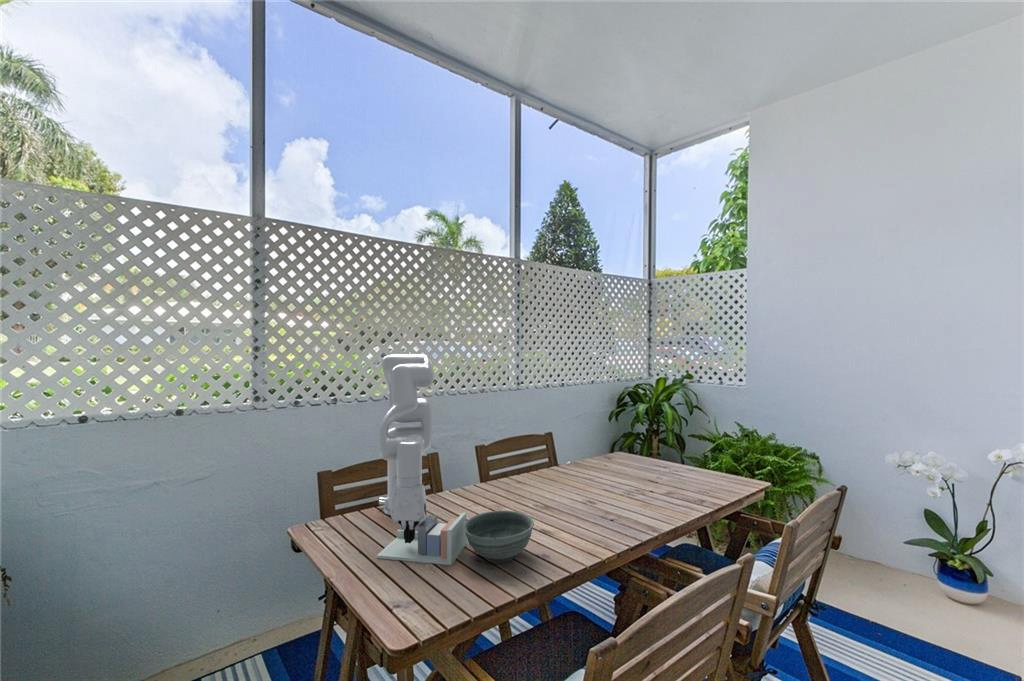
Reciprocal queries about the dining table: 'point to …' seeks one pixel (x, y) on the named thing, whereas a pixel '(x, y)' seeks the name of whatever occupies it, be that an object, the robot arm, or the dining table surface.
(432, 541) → the book
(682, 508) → the dining table surface
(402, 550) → the mint u-shaped tray
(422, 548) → the bookend
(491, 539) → the bowl
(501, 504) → the dining table surface
